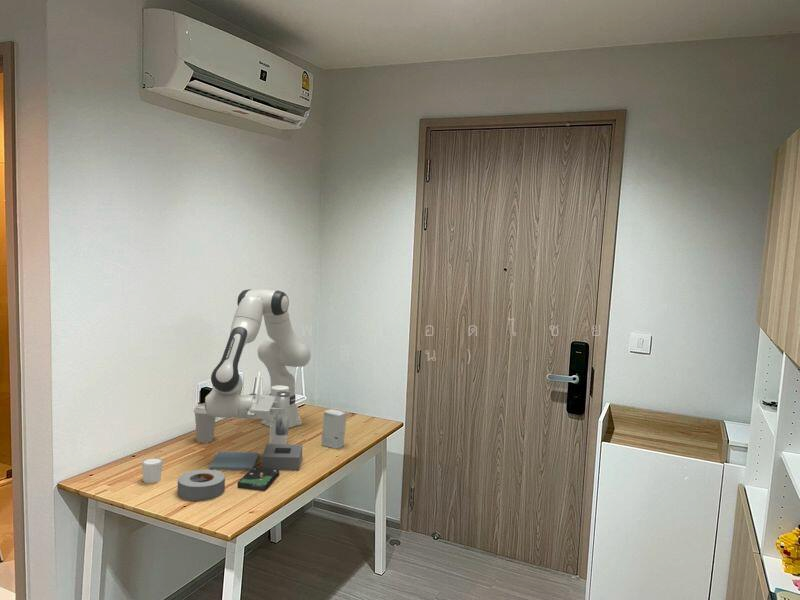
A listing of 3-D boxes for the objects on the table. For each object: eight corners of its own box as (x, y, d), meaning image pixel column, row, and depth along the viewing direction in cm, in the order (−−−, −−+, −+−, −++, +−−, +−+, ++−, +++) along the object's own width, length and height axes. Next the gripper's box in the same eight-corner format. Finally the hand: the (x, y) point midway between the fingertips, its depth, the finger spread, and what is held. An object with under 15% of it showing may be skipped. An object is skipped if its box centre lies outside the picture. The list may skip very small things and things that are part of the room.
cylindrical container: (282, 449, 246) (284, 390, 244) (266, 447, 248) (268, 388, 245) (289, 444, 253) (291, 386, 251) (273, 442, 255) (275, 384, 252)
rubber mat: (218, 453, 238) (218, 451, 238) (259, 454, 239) (259, 452, 239) (209, 469, 222) (209, 466, 222) (252, 470, 223) (252, 467, 223)
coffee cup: (216, 436, 258) (217, 402, 257) (217, 443, 249) (217, 408, 248) (193, 437, 255) (193, 403, 254) (192, 445, 246) (193, 409, 245)
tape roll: (199, 479, 213) (199, 465, 213) (234, 488, 208) (234, 474, 207) (167, 495, 199) (167, 480, 199) (203, 505, 193) (204, 490, 193)
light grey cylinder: (146, 475, 213) (147, 457, 213) (165, 477, 213) (166, 458, 212) (137, 483, 206) (138, 464, 206) (157, 485, 206) (157, 465, 206)
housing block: (266, 455, 239) (267, 443, 238) (301, 456, 240) (302, 444, 239) (261, 469, 225) (261, 456, 224) (298, 470, 226) (299, 457, 225)
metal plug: (275, 431, 233) (277, 391, 232) (288, 431, 234) (290, 391, 232) (274, 435, 228) (275, 394, 227) (287, 435, 229) (289, 394, 227)
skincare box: (321, 445, 254) (322, 411, 252) (328, 441, 259) (330, 408, 258) (337, 449, 250) (339, 415, 248) (345, 445, 255) (346, 411, 254)
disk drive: (252, 473, 222) (236, 489, 207) (253, 466, 222) (237, 481, 207) (279, 476, 221) (265, 492, 206) (280, 469, 221) (265, 484, 206)
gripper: (243, 406, 218) (282, 407, 219) (253, 392, 238) (288, 393, 240) (243, 423, 219) (281, 424, 220) (252, 407, 239) (287, 408, 240)
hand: (284, 407), depth 230 cm, fingers closed on metal plug, 5 cm apart
